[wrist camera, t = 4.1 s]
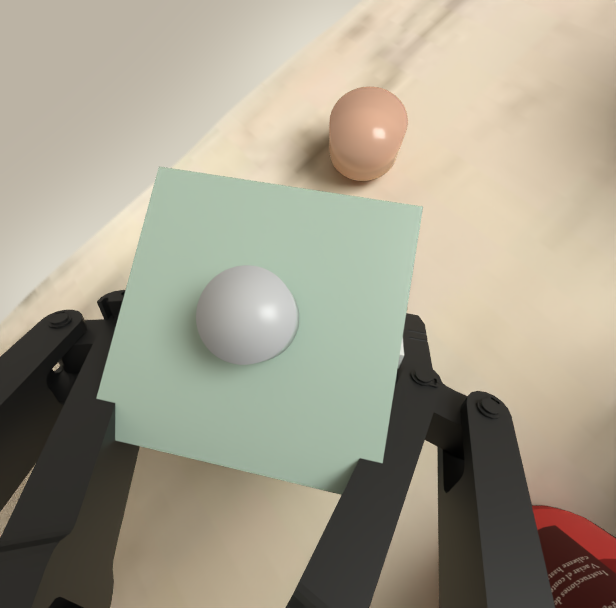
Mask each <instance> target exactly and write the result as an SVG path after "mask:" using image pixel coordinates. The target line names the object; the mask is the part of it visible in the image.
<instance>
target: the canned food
mask: <svg viewBox="0 0 616 608" xmlns="http://www.w3.org/2000/svg"><path fill="white" fill-rule="evenodd" d="M532 509H533V513H534V517H535V522H536V526H537V530H538V535H539V539H540V543H541V548H542V552H543V556H544V561H545V565H546V569H547V574H548V578H549V583H550V587H551V591H552V596H553V600H554V604H555V608H616V538H615V537H614V536H612V535H611V534H609V533H608V532H606V531H605V530H603V529H602V528H600V527H599V526H597V525H596V524H594V523H592V522H591V521H589V520H587V519H586V518H584V517H581V516H579V515H576V514H574V513H571V512H568V511H565V510H562V509H558V508H553V507H548V506H532Z"/></svg>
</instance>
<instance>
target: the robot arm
mask: <svg viewBox="0 0 616 608" xmlns="http://www.w3.org/2000/svg"><path fill="white" fill-rule="evenodd" d="M125 291H126V290H120V291H114V292H111V293H108V294H106V295H104V296H103V297H101V298H100V299H99V300H98V301H97V303H98V306H99V308H100V310H101V313H102V315H103V317H104V320H84V318H83V316H82V314H81V313H80V312H79V311H75V310H62V311H58V312H55V313H52V314H50V315H48V316H46V317H45V318H43V319H42V320H41V321H40V322H39V323H37V324H36V325H35V326H34V327H33V328H32V329H31V330H30V331H29V332H27V333H26V334H25V335H24V336H23V337H22V338H21V339H20V340H18V341H17V342H16V343H15V344H14V345H13V346H12V347H11V348H10V349H8V350H7V351H6V352H5V353H4V354H3V355H2V356H1V357H0V511H1V510H2V509H3V507H4V506H5V505H6V503H7V502H8V500H9V499H10V498H11V496H12V495H13V494H14V492H15V491H16V489H17V488H18V487H19V485H20V484H21V483H22V481H23V480H24V479H25V477H26V476H27V474H28V473H29V472H30V470H31V469H32V468H33V466H34V465H35V463H36V465H35V467H34V469H33V471H32V473H31V475H30V477H29V479H28V481H27V483H26V486H25V488H24V490H23V492H22V494H21V496H20V498H19V500H18V502H17V504H16V507H15V509H14V511H13V513H12V515H11V517H10V519H9V521H8V523H7V525H6V528H5V530H4V532H3V534H2V536H1V537H0V608H110V605H111V600H112V594H113V583H114V580H113V569H112V568H113V559H114V554H115V549H116V545H117V541H118V537H119V532H120V528H121V524H122V519H123V515H124V511H125V507H126V502H127V498H128V494H129V489H130V485H131V481H132V476H133V472H134V468H135V464H136V459H137V455H138V451H139V446H137V445H133V444H129V443H124V442H120V441H116V440H115V403H113V402H109V401H105V400H100V399H96V398H97V394H98V391H99V387H100V383H101V380H102V376H103V372H104V368H105V365H106V361H107V357H108V354H109V350H110V346H111V342H112V339H113V335H114V331H115V328H116V324H117V320H118V317H119V313H120V309H121V305H122V302H123V298H124V294H125ZM57 363H59V364H60V367H59V368H58V369H57V370H56V371H53V370H52V368H53V367H54V366H55V365H56V364H57ZM424 440H426V441H428V442H430V443H432V444H434V445H436V446H438V539H439V608H555V604H554V600H553V596H552V591H551V587H550V583H549V578H548V574H547V569H546V565H545V561H544V556H543V552H542V548H541V543H540V539H539V535H538V530H537V526H536V522H535V517H534V513H533V509H532V504H531V500H530V495H529V491H528V487H527V482H526V478H525V474H524V469H523V465H522V461H521V456H520V452H519V448H518V443H517V439H516V434H515V430H514V426H513V421H512V417H511V414H510V412H509V410H508V408H507V407H506V406H505V404H504V403H503V402H502V401H501V400H499V399H498V398H496V397H495V396H493V395H491V394H489V393H487V392H481V391H476V392H471V393H470V394H469V395H468V396H465V395H463V394H461V393H459V392H457V391H455V390H453V389H451V388H449V387H447V386H446V385H444V384H443V383H442V381H441V379H440V377H439V375H438V374H437V373H436V372H435V371H434V370H433V368H432V363H431V357H430V352H429V346H428V342H427V335H426V329H425V324H424V323H423V321H422V320H421V319H420V317H419V316H418V315H413V314H407V313H406V318H405V324H404V330H403V337H402V343H401V350H400V356H399V362H398V369H397V375H396V381H395V388H394V394H393V400H392V407H391V413H390V419H389V426H388V432H387V438H386V445H385V451H384V457H383V463H379V462H375V461H371V460H366V459H362V458H360V459H359V461H358V463H357V465H356V467H355V469H354V471H353V473H352V475H351V477H350V479H349V481H348V483H347V485H346V487H345V489H344V492H343V494H342V496H341V498H340V500H339V502H338V504H337V506H336V508H335V510H334V512H333V514H332V516H331V518H330V520H329V522H328V524H327V526H326V528H325V530H324V532H323V534H322V536H321V538H320V540H319V543H318V545H317V547H316V549H315V551H314V553H313V555H312V557H311V559H310V561H309V563H308V565H307V567H306V569H305V571H304V573H303V575H302V577H301V579H300V581H299V583H298V585H297V587H296V589H295V591H294V593H293V595H292V597H291V599H290V601H289V602H288V604H287V606H286V608H369V606H370V603H371V600H372V597H373V594H374V591H375V588H376V585H377V582H378V579H379V576H380V573H381V570H382V567H383V564H384V561H385V558H386V555H387V552H388V549H389V546H390V543H391V540H392V537H393V534H394V531H395V528H396V525H397V522H398V519H399V516H400V513H401V510H402V507H403V504H404V501H405V497H406V494H407V491H408V488H409V485H410V482H411V479H412V476H413V473H414V470H415V467H416V464H417V461H418V458H419V455H420V452H421V449H422V446H423V443H424Z"/></svg>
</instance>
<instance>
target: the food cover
mask: <svg viewBox="0 0 616 608" xmlns="http://www.w3.org/2000/svg"><path fill="white" fill-rule="evenodd" d="M422 210H423V207H422V206H415V205H409V204H402V203H396V202H389V201H382V200H376V199H369V198H363V197H356V196H350V195H343V194H336V193H330V192H323V191H317V190H310V189H304V188H297V187H290V186H284V185H277V184H271V183H264V182H257V181H251V180H244V179H238V178H231V177H225V176H218V175H211V174H205V173H198V172H192V171H185V170H179V169H172V168H165V167H159V168H158V172H157V176H156V180H155V183H154V187H153V191H152V194H151V198H150V202H149V205H148V209H147V213H146V217H145V220H144V224H143V228H142V231H141V235H140V239H139V243H138V246H137V250H136V254H135V257H134V261H133V265H132V268H131V272H130V276H129V280H128V283H127V287H126V291H125V294H124V298H123V302H122V305H121V309H120V313H119V317H118V320H117V324H116V328H115V331H114V335H113V339H112V342H111V346H110V350H109V354H108V357H107V361H106V365H105V368H104V372H103V376H102V380H101V383H100V387H99V391H98V394H97V398H96V399H100V400H105V401H109V402H113V403H115V440H116V441H120V442H124V443H129V444H133V445H137V446H141V447H145V448H149V449H154V450H158V451H162V452H166V453H170V454H174V455H179V456H183V457H187V458H191V459H195V460H199V461H204V462H208V463H212V464H216V465H220V466H224V467H229V468H233V469H237V470H241V471H245V472H249V473H254V474H258V475H262V476H266V477H270V478H274V479H279V480H283V481H287V482H291V483H295V484H299V485H304V486H308V487H312V488H316V489H320V490H324V491H329V492H333V493H337V494H341V495H342V494H343V492H344V489H345V487H346V485H347V483H348V481H349V479H350V477H351V475H352V473H353V471H354V469H355V467H356V465H357V463H358V461H359V459H360V458H362V459H366V460H371V461H375V462H379V463H383V457H384V451H385V445H386V438H387V432H388V426H389V419H390V413H391V407H392V400H393V394H394V388H395V381H396V375H397V369H398V362H399V356H400V350H401V343H402V337H403V330H404V324H405V318H406V311H407V305H408V299H409V292H410V286H411V280H412V273H413V267H414V261H415V254H416V248H417V242H418V235H419V229H420V223H421V216H422Z"/></svg>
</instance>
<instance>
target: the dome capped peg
mask: <svg viewBox="0 0 616 608" xmlns="http://www.w3.org/2000/svg"><path fill="white" fill-rule="evenodd" d="M407 125H408V118H407V113H406V110H405V107H404V105H403V104H402V102H401V101H400V100H399V99H398V98H397V97H396V96H395V95H394V94H392V93H391V92H389V91H387V90H385V89H382V88H378V87H361V88H357V89H354V90H352V91H350V92H348V93H346V94H345V95H344V96H342V97H341V98H340V99H339V100H338V101H337V103H336V104H335V106H334V108H333V109H332V112H331V116H330V134H329V152H330V158H331V161H332V163H333V165H334V167H335V168H336V169H337V170H338V171H339V172H340V173H341V174H342V175H344V176H345V177H347V178H350V179H353V180H357V181H369V180H373V179H376V178H378V177H380V176H382V175H384V174H385V173H386V172H387V171H389V169H390V168H391V167H392V166H393V164H394V162H395V160H396V157H397V155H398V152H399V149H400V146H401V144H402V141H403V138H404V135H405V133H406V130H407Z"/></svg>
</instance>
